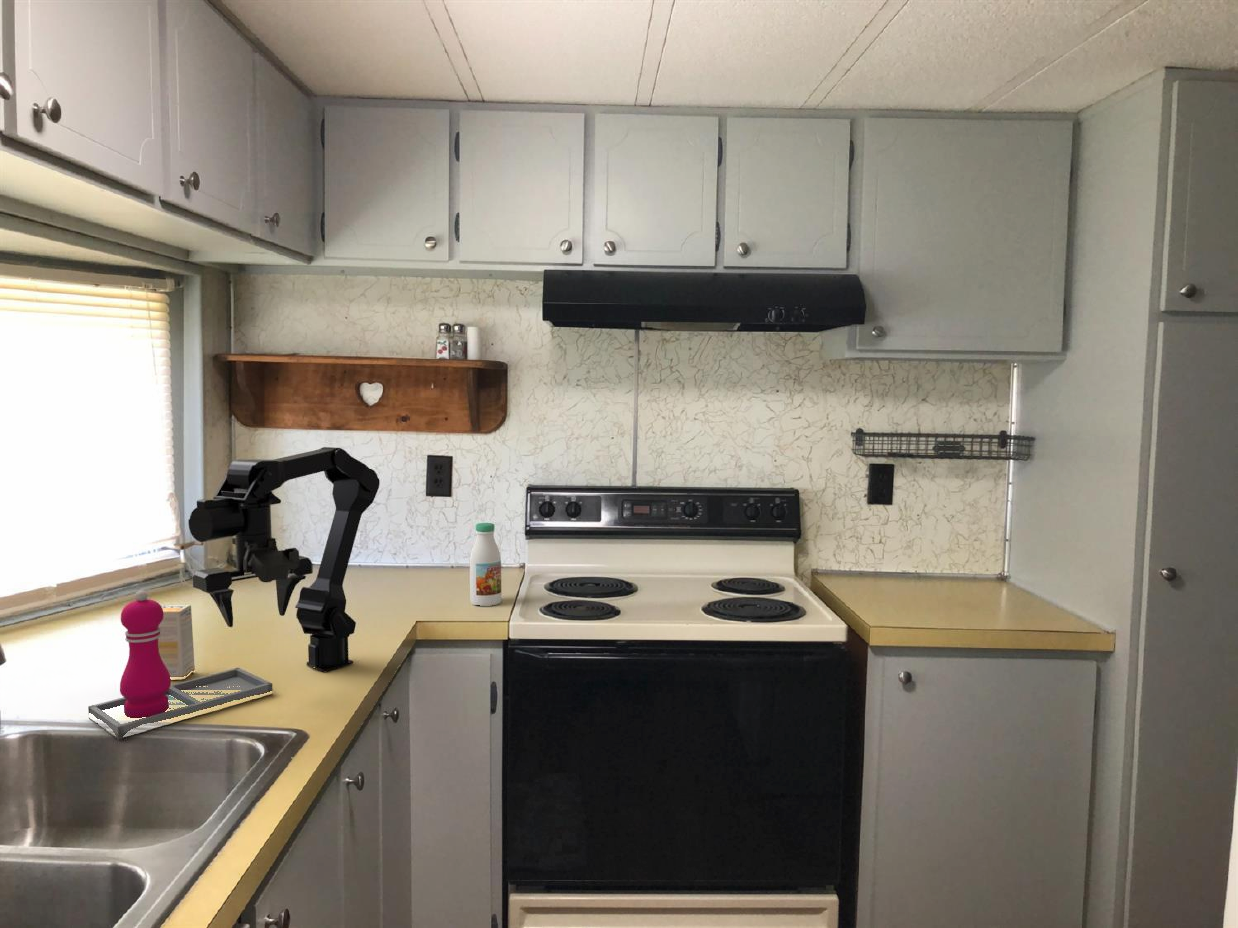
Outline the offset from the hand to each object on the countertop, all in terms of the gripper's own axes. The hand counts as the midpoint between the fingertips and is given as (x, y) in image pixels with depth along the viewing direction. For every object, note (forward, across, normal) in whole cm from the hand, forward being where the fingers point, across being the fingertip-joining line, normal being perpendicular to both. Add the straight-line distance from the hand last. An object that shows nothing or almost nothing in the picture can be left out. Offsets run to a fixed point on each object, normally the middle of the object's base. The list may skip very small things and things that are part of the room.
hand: (256, 621), depth 143 cm
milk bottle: (+13, +66, +16) cm, 69 cm away
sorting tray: (+13, -11, +4) cm, 17 cm away
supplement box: (+13, -7, +21) cm, 26 cm away
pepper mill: (+12, -17, +4) cm, 21 cm away
